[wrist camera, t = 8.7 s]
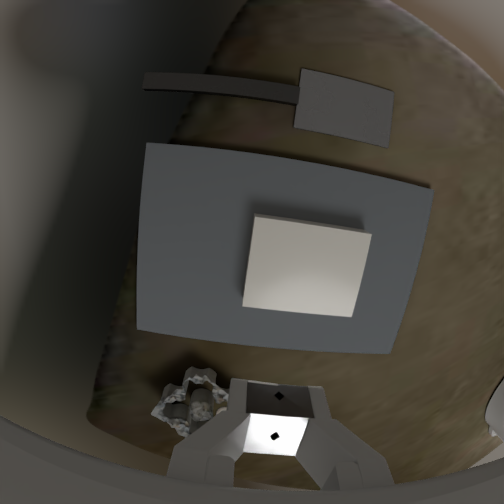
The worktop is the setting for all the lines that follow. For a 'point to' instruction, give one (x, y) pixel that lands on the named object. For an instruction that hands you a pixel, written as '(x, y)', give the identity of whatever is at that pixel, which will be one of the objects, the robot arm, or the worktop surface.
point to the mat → (238, 243)
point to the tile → (304, 266)
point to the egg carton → (199, 406)
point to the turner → (301, 100)
